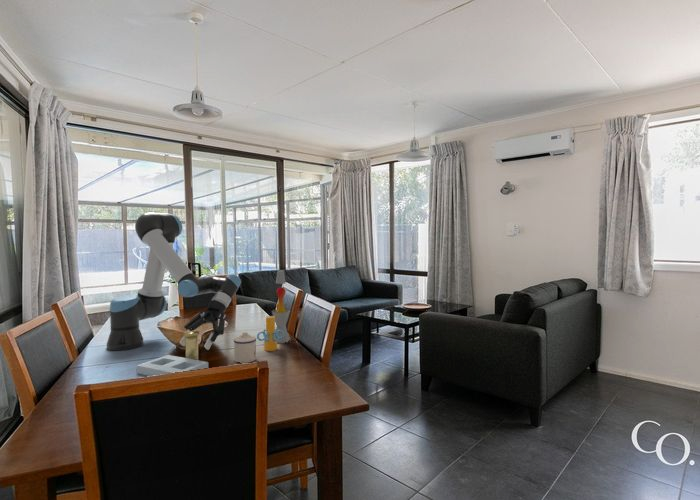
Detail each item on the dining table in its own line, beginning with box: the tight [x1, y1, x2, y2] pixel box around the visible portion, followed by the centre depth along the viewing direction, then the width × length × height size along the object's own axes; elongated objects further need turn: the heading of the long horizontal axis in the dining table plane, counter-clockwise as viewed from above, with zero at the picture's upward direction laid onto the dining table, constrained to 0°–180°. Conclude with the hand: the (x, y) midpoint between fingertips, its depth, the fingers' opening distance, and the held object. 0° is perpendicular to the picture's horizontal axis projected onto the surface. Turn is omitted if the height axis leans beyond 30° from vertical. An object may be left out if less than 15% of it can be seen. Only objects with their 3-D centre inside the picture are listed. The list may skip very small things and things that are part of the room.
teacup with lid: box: [233, 331, 257, 364], centre depth 161 cm, size 12×9×12 cm
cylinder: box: [256, 315, 284, 352], centre depth 174 cm, size 12×10×15 cm
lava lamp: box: [271, 269, 291, 344], centre depth 188 cm, size 9×9×35 cm
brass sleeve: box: [182, 330, 201, 360], centre depth 158 cm, size 6×6×12 cm
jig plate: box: [136, 354, 209, 377], centre depth 146 cm, size 22×14×3 cm, turn 65°
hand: (193, 346), depth 158 cm, fingers open, 13 cm apart
